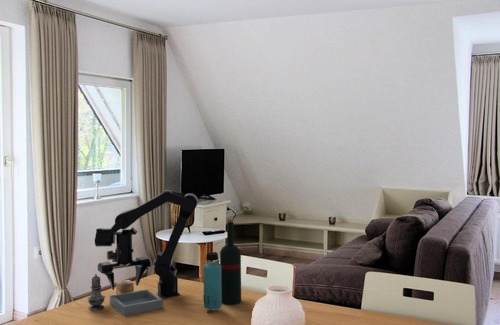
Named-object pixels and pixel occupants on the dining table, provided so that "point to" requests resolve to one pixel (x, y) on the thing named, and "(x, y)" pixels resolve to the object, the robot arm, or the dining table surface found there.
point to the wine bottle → (230, 269)
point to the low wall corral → (136, 302)
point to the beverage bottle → (212, 282)
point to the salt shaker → (96, 295)
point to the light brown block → (124, 287)
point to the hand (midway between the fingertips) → (125, 287)
